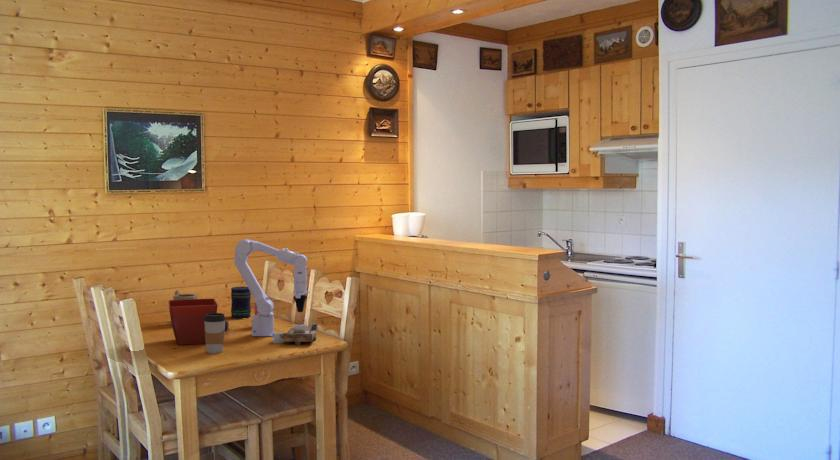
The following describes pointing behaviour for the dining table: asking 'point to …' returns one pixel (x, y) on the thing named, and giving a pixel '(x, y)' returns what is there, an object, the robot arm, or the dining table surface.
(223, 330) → the coffee cup
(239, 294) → the storage jar
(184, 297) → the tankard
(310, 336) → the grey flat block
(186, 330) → the plant pot
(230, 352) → the dining table surface
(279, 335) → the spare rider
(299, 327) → the rider
